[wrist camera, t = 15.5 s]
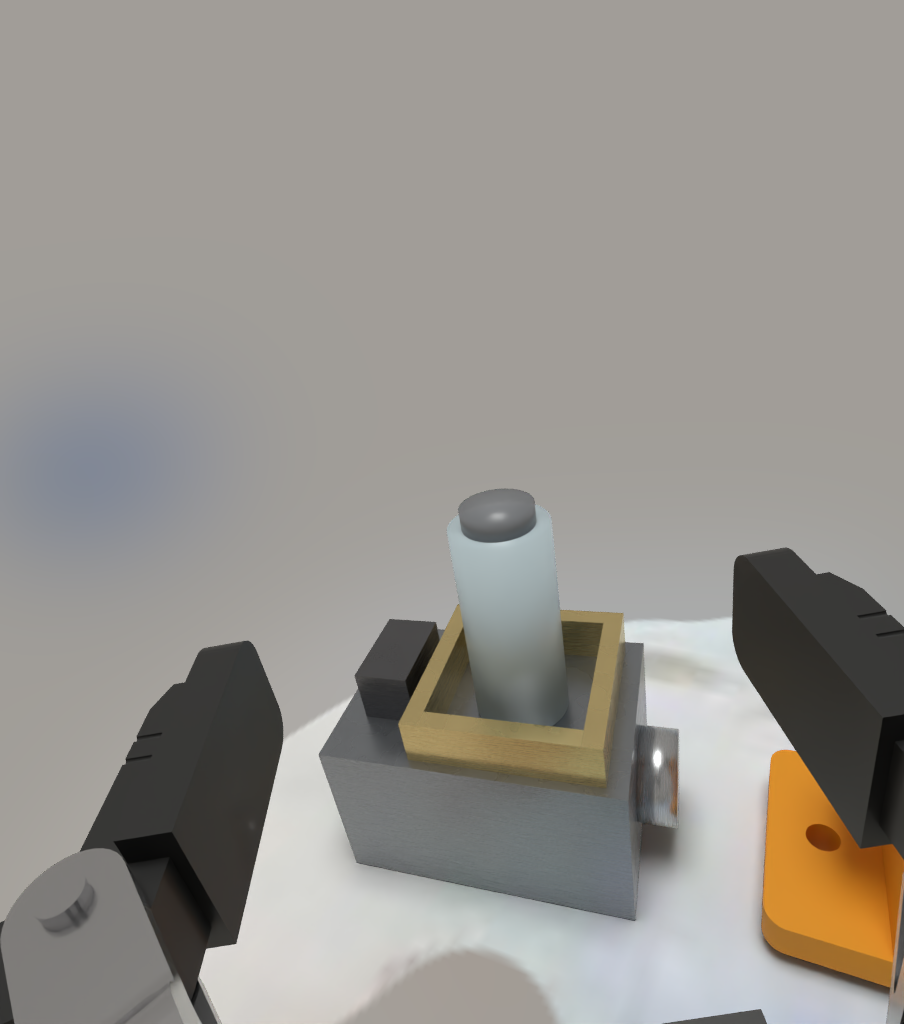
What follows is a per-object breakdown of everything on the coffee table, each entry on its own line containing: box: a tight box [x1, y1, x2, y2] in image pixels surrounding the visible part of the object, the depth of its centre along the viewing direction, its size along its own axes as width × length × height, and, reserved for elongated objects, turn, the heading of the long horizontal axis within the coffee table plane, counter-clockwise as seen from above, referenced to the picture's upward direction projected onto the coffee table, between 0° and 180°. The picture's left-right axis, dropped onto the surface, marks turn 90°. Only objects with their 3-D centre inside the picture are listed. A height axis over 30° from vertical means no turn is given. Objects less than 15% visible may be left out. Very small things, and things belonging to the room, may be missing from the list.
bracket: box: [761, 750, 904, 987], centre depth 31 cm, size 11×7×12 cm, turn 155°
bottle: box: [447, 489, 569, 726], centre depth 34 cm, size 5×5×12 cm
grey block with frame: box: [319, 604, 679, 920], centre depth 38 cm, size 18×11×12 cm, turn 73°
